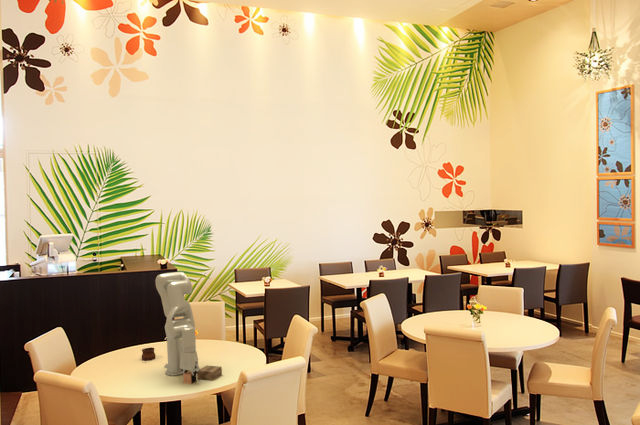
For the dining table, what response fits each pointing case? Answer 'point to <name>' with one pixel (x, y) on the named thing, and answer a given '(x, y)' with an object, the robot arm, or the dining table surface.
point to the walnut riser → (209, 372)
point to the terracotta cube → (187, 377)
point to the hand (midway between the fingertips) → (190, 380)
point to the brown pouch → (148, 354)
